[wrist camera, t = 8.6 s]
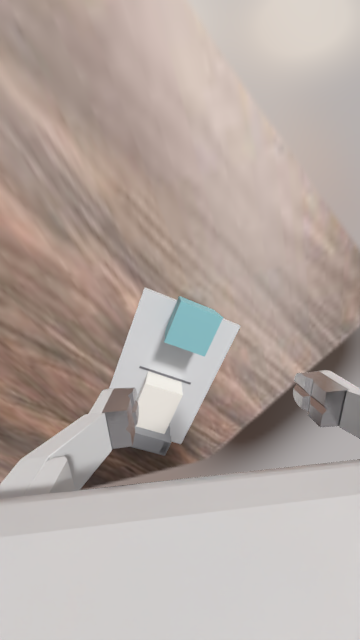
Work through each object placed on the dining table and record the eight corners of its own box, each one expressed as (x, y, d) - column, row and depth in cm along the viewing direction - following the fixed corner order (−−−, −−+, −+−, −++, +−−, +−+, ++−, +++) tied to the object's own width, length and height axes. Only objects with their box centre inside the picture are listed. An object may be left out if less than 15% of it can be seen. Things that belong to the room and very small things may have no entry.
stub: (198, 342, 24) (204, 356, 20) (165, 330, 24) (164, 342, 19) (213, 309, 23) (223, 317, 19) (179, 296, 22) (181, 300, 18)
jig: (180, 438, 30) (182, 470, 25) (100, 416, 28) (85, 446, 23) (237, 324, 25) (253, 335, 20) (145, 287, 23) (138, 290, 18)
